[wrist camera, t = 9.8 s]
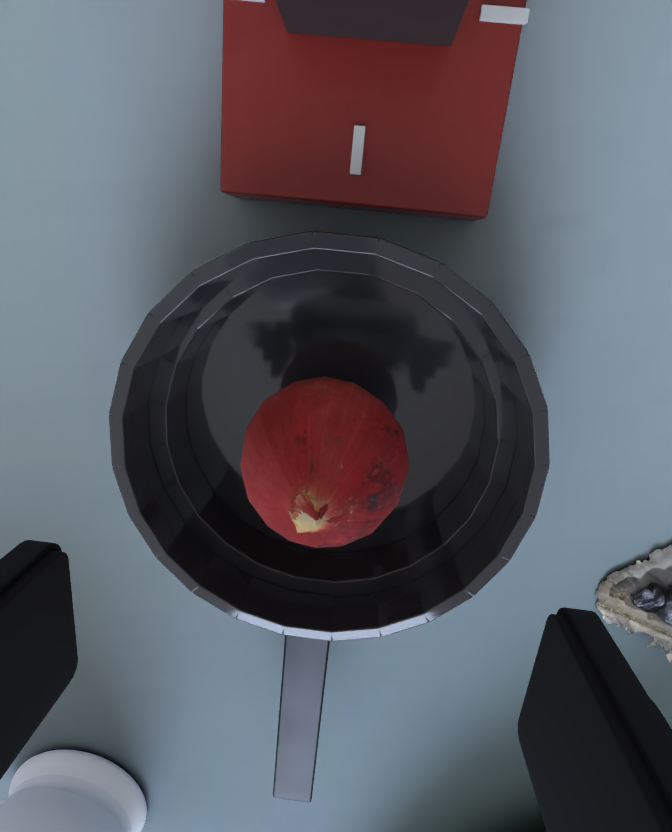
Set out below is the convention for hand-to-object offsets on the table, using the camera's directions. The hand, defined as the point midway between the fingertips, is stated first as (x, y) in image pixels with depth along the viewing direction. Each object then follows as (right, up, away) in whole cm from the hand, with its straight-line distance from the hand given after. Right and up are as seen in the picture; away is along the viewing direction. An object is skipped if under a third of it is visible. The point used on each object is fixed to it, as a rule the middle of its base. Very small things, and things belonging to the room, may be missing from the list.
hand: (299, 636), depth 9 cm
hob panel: (+2, +17, +7) cm, 19 cm away
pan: (+1, +4, +12) cm, 12 cm away
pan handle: (-1, -8, +12) cm, 15 cm away
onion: (+1, +4, +11) cm, 12 cm away
